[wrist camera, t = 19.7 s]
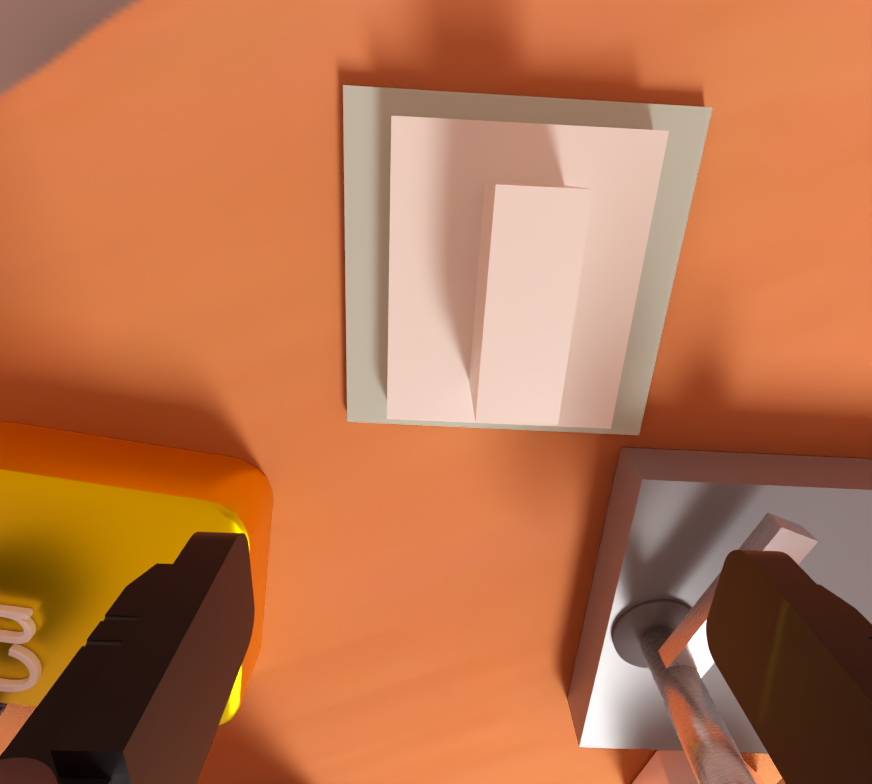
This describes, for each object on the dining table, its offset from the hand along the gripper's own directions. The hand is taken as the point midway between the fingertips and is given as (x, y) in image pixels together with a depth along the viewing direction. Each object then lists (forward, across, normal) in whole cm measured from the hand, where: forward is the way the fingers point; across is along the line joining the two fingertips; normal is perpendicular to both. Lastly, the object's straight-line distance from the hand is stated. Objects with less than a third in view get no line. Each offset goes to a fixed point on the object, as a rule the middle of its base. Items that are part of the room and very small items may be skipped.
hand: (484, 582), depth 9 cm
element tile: (+18, +17, +14) cm, 28 cm away
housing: (+16, -20, +15) cm, 30 cm away
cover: (+16, -2, -2) cm, 16 cm away
